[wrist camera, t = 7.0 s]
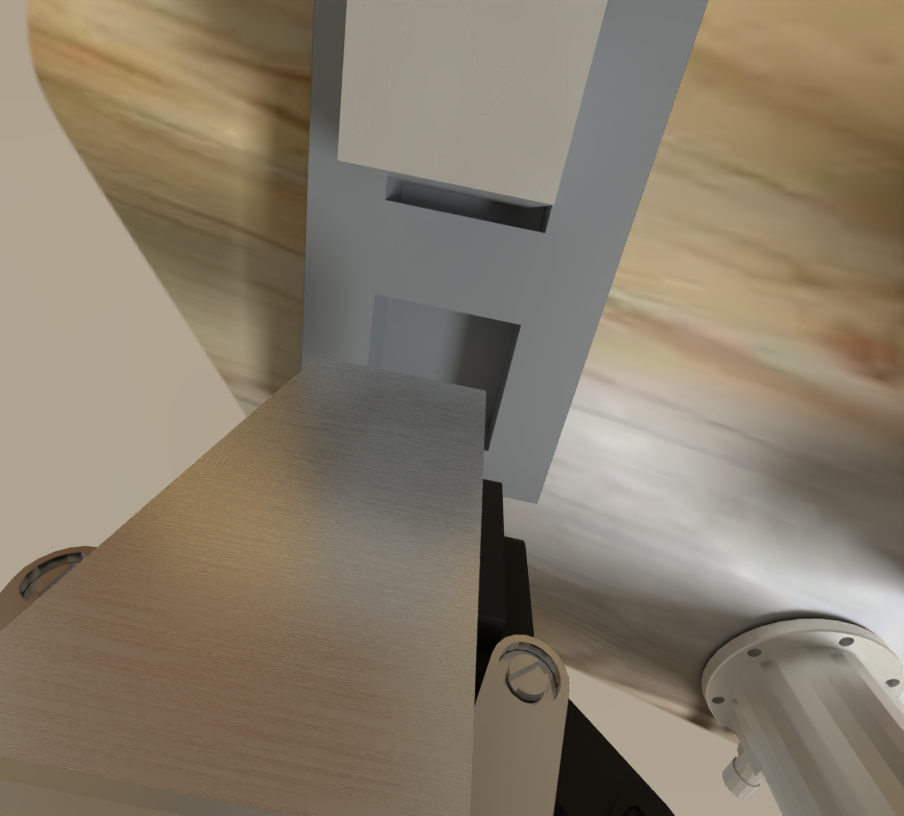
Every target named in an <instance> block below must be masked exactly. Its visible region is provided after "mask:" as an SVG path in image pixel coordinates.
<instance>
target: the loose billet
mask: <svg viewBox="0 0 904 816" xmlns="http://www.w3.org/2000/svg"><path fill="white" fill-rule="evenodd" d="M485 409H486V391H485V390H480V389H475V388H470V387H465V386H461V385H456V384H451V383H446V382H441V381H436V380H431V379H426V378H422V377H417V376H412V375H407V374H402V373H397V372H392V371H388V370H383V369H378V368H373V367H368V366H363V365H358V364H354V363H349V362H344V361H339V360H334V359H329V358H324V357H319V356H317V357H316V358H315V359H314V360H312V361H311V362H310V363H309V364H308V365H307V366H306V367H304V368H303V369H302V370H301V371H300V372H299V373H297V374H296V375H295V376H294V377H293V378H292V379H291V380H289V381H288V382H287V383H286V384H285V385H284V386H283V387H281V388H280V389H279V390H278V391H277V392H276V393H274V394H273V395H272V396H271V397H270V398H269V399H268V400H266V401H265V402H264V403H263V404H262V405H261V406H259V407H258V408H257V409H256V410H255V411H254V412H253V413H251V414H250V415H249V416H248V417H247V418H246V419H245V420H243V421H242V422H241V423H240V424H239V425H238V426H237V427H235V428H234V429H233V430H232V431H231V432H230V433H228V434H227V435H226V436H225V437H224V438H223V439H221V440H220V441H219V442H218V443H217V444H216V445H215V446H213V447H212V448H211V449H210V450H209V451H208V452H207V453H205V454H204V455H203V456H202V457H201V458H200V459H199V460H197V461H196V462H195V463H194V464H193V465H192V466H191V467H189V468H188V469H187V470H186V471H185V472H184V473H182V474H181V475H180V476H179V477H178V478H177V479H175V480H174V481H173V482H172V483H171V484H170V485H169V486H167V487H166V488H165V489H164V490H163V491H162V492H160V493H159V494H158V495H157V496H156V497H155V498H154V499H152V500H151V501H150V502H149V503H148V504H147V505H146V506H144V507H143V508H142V509H141V510H140V511H139V512H138V513H136V514H135V515H134V516H133V517H132V518H131V519H129V520H128V521H127V522H126V523H125V524H124V525H122V526H121V527H120V528H119V529H118V530H117V531H116V532H114V533H113V534H112V535H111V536H110V537H109V538H107V539H106V540H105V541H104V542H103V543H102V544H101V545H99V546H98V547H97V548H96V549H95V550H94V551H93V552H91V553H90V554H89V555H88V556H87V557H86V558H84V559H83V560H82V561H81V562H80V563H79V564H78V565H76V566H75V567H74V568H73V569H72V570H71V571H70V572H68V573H67V574H66V575H65V576H64V577H63V578H61V579H60V580H59V581H58V582H57V583H56V584H55V585H53V586H52V587H51V588H50V589H49V590H48V591H46V592H45V593H44V594H43V595H42V596H41V597H40V598H38V599H37V600H36V601H35V602H34V603H33V604H32V605H30V606H29V607H28V608H27V609H26V610H25V611H23V612H22V613H21V614H20V615H19V616H18V617H17V618H15V619H14V620H13V621H12V622H11V623H10V624H8V625H7V626H6V627H5V628H4V629H3V630H2V631H0V756H1V757H6V758H12V759H17V760H22V761H27V762H32V763H37V764H42V765H47V766H52V767H57V768H62V769H67V770H72V771H77V772H82V773H87V774H92V775H96V776H101V777H106V778H111V779H116V780H121V781H126V782H131V783H135V784H140V785H145V786H150V787H155V788H160V789H165V790H170V791H174V792H179V793H184V794H189V795H194V796H199V797H204V798H209V799H214V800H219V801H224V802H229V803H233V804H238V805H243V806H248V807H253V808H258V809H263V810H268V811H273V812H278V813H283V814H288V815H292V816H470V802H471V776H472V750H473V724H474V698H475V671H476V645H477V619H478V593H479V566H480V540H481V514H482V488H483V461H484V435H485Z"/></svg>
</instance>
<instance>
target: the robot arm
mask: <svg viewBox="0 0 904 816" xmlns="http://www.w3.org/2000/svg"><path fill="white" fill-rule="evenodd" d="M96 548H97V547H90V546H81V547H71V548H67V549H63V550H59V551H55V552H53V553H50V554H48V555H46V556H43V557H41V558H39V559H37V560H35V561H34V562H32V563H31V564H29V565H27V566H26V567H24V568H23V569H22V570H21V571H20V572H19V573H18V574H17V575H16V576H14V578H13V579H12V580H11V581H10V582H9V583H8V584H7V586H6V587H5V588H4V589H3V590H2V591H1V593H0V631H2V630H3V629H4V628H5V627H6V626H7V625H8V624H10V623H11V622H12V621H13V620H14V619H15V618H17V617H18V616H19V615H20V614H21V613H22V612H23V611H25V610H26V609H27V608H28V607H29V606H30V605H32V604H33V603H34V602H35V601H36V600H37V599H38V598H40V597H41V596H42V595H43V594H44V593H45V592H46V591H48V590H49V589H50V588H51V587H52V586H53V585H55V584H56V583H57V582H58V581H59V580H60V579H61V578H63V577H64V576H65V575H66V574H67V573H68V572H70V571H71V570H72V569H73V568H74V567H75V566H76V565H78V564H79V563H80V562H81V561H82V560H83V559H84V558H86V557H87V556H88V555H89V554H90V553H91V552H93V551H94V550H95V549H96ZM903 685H904V670H903V666H902V664H901V662H900V661H899V659H898V657H897V656H896V655H895V654H894V652H893V651H892V650H891V649H890V648H889V647H888V646H887V645H886V644H885V643H884V641H883V640H881V639H880V638H879V637H877V636H876V635H875V634H873V633H872V632H870V631H868V630H866V629H863V628H861V627H859V626H857V625H853V624H849V623H845V622H841V621H836V620H827V619H794V620H787V621H779V622H776V623H772V624H768V625H764V626H760V627H758V628H755V629H753V630H750V631H748V632H745V633H743V634H741V635H739V636H738V637H736V638H734V639H732V640H731V641H729V642H728V643H727V644H725V645H724V646H723V647H721V648H720V649H719V650H718V651H717V652H716V653H715V654H714V655H713V657H712V658H711V659H710V660H709V662H708V663H707V665H706V667H705V669H704V671H703V675H702V680H701V686H702V693H703V695H704V697H705V700H706V703H707V705H708V708H709V709H710V711H711V712H712V714H713V716H714V717H715V718H716V719H717V720H718V721H719V722H720V723H722V724H723V725H724V726H726V727H728V728H729V729H731V730H732V731H734V732H736V734H737V737H738V739H739V741H740V743H739V745H738V749H737V751H738V755H739V756H738V757H735V758H734V759H733V760H732V761H731V762H730V764H729V765H728V766H727V767H726V768H725V769H724V771H723V774H722V777H723V780H724V782H725V785H726V786H727V787H728V789H729V790H730V791H731V792H732V793H733V794H734V795H736V796H737V797H739V798H742V799H745V798H748V797H749V796H750V795H751V794H752V793H753V792H754V791H755V790H756V789H757V788H758V787H759V786H760V783H761V781H762V780H763V781H766V782H767V783H768V785H769V788H770V790H771V792H772V794H773V796H774V798H775V800H776V803H777V804H778V807H779V809H780V811H781V813H782V815H783V816H904V704H903V703H902V701H901V700H900V699H899V696H900V694H901V692H902V690H903ZM0 816H292V815H288V814H283V813H278V812H273V811H268V810H263V809H258V808H253V807H248V806H243V805H238V804H233V803H229V802H224V801H219V800H214V799H209V798H204V797H199V796H194V795H189V794H184V793H179V792H174V791H170V790H165V789H160V788H155V787H150V786H145V785H140V784H135V783H131V782H126V781H121V780H116V779H111V778H106V777H101V776H96V775H92V774H87V773H82V772H77V771H72V770H67V769H62V768H57V767H52V766H47V765H42V764H37V763H32V762H27V761H22V760H17V759H12V758H6V757H1V756H0ZM470 816H675V815H674V814H673V813H672V811H671V810H670V809H669V807H668V806H667V805H666V804H665V803H664V802H663V801H662V800H661V798H659V796H658V795H657V794H656V793H655V792H654V791H653V790H652V789H651V788H650V786H649V785H648V784H647V783H646V782H645V781H644V780H643V779H642V778H641V777H640V776H639V774H638V773H637V772H636V771H635V770H634V769H633V768H632V767H631V766H630V765H629V764H628V762H627V761H626V760H625V759H624V758H623V757H622V756H621V755H620V754H619V753H618V751H617V750H616V749H615V748H614V747H613V746H612V745H611V744H610V743H609V742H608V741H607V740H606V738H605V737H604V736H603V735H602V734H601V733H600V732H599V731H598V730H597V729H596V727H595V726H593V724H592V723H591V722H590V721H589V720H588V719H587V718H586V717H585V716H584V715H583V713H582V712H581V711H580V710H579V709H578V708H577V707H576V706H575V705H574V704H573V702H572V701H571V700H570V699H569V677H568V674H567V671H566V668H565V666H564V664H563V662H562V661H561V659H560V658H559V656H558V655H557V654H556V653H555V652H554V651H553V650H552V649H551V648H550V647H549V646H548V645H547V644H545V643H543V642H542V641H540V640H539V639H537V638H534V631H533V621H532V610H531V599H530V589H529V578H528V567H527V557H526V547H525V542H524V541H523V540H519V539H514V538H510V537H505V536H504V521H503V490H502V483H501V482H496V481H492V480H487V479H483V488H482V514H481V540H480V566H479V593H478V619H477V645H476V671H475V698H474V724H473V750H472V776H471V802H470Z"/></svg>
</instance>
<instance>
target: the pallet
mask: <svg viewBox="0 0 904 816" xmlns="http://www.w3.org/2000/svg"><path fill="white" fill-rule="evenodd" d="M707 3H708V0H608V2H607V6H606V9H605V13H604V17H603V21H602V25H601V28H600V32H599V36H598V40H597V44H596V47H595V51H594V55H593V59H592V63H591V66H590V70H589V74H588V78H587V82H586V86H585V89H584V93H583V97H582V101H581V105H580V108H579V112H578V116H577V120H576V124H575V127H574V131H573V135H572V139H571V143H570V146H569V150H568V154H567V158H566V162H565V166H564V169H563V173H562V177H561V181H560V185H559V188H558V192H557V196H556V200H555V204H554V205H550V206H541V207H533V208H523V207H519V206H514V205H509V204H504V203H499V202H494V201H490V200H485V199H480V198H475V197H470V196H465V195H461V194H456V193H451V192H446V191H441V190H436V189H432V188H427V187H422V186H418V185H415V184H412V183H408V182H405V181H402V180H399V179H396V178H392V177H389V176H386V175H383V174H380V173H377V172H373V171H370V170H367V169H364V168H361V167H357V166H354V165H351V164H348V163H345V162H341V161H338V160H337V158H338V142H339V125H340V109H341V92H342V76H343V59H344V43H345V26H346V10H347V0H314V19H313V47H312V76H311V104H310V133H309V161H308V190H307V218H306V246H305V275H304V303H303V332H302V360H301V370H302V369H303V368H304V367H306V366H307V365H308V364H309V363H310V362H311V361H312V360H314V359H315V358H316V357H317V356H319V357H324V358H329V359H334V360H339V361H344V362H349V363H354V364H358V365H363V366H368V367H373V368H378V369H383V370H388V371H392V372H397V373H402V374H407V375H412V376H417V377H422V378H426V379H431V380H436V381H441V382H446V383H451V384H456V385H461V386H465V387H470V388H475V389H480V390H485V391H486V409H485V435H484V461H483V479H487V480H492V481H496V482H501V483H502V490H503V496H504V497H508V498H513V499H517V500H522V501H527V502H531V503H536V504H537V502H538V499H539V496H540V494H541V491H542V488H543V485H544V482H545V479H546V476H547V473H548V470H549V467H550V464H551V461H552V458H553V455H554V452H555V449H556V447H557V444H558V441H559V438H560V435H561V432H562V429H563V426H564V423H565V420H566V417H567V414H568V411H569V408H570V405H571V402H572V400H573V397H574V394H575V391H576V388H577V385H578V382H579V379H580V376H581V373H582V370H583V367H584V364H585V361H586V358H587V356H588V353H589V350H590V347H591V344H592V341H593V338H594V335H595V332H596V329H597V326H598V323H599V320H600V317H601V314H602V311H603V309H604V306H605V303H606V300H607V297H608V294H609V291H610V288H611V285H612V282H613V279H614V276H615V273H616V270H617V267H618V264H619V262H620V259H621V256H622V253H623V250H624V247H625V244H626V241H627V238H628V235H629V232H630V229H631V226H632V223H633V220H634V217H635V215H636V212H637V209H638V206H639V203H640V200H641V197H642V194H643V191H644V188H645V185H646V182H647V179H648V176H649V173H650V170H651V168H652V165H653V162H654V159H655V156H656V153H657V150H658V147H659V144H660V141H661V138H662V135H663V132H664V129H665V126H666V123H667V121H668V118H669V115H670V112H671V109H672V106H673V103H674V100H675V97H676V94H677V91H678V88H679V85H680V82H681V79H682V76H683V74H684V71H685V68H686V65H687V62H688V59H689V56H690V53H691V50H692V47H693V44H694V41H695V38H696V35H697V32H698V29H699V27H700V24H701V21H702V18H703V15H704V12H705V9H706V6H707Z"/></svg>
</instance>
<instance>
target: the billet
mask: <svg viewBox="0 0 904 816" xmlns="http://www.w3.org/2000/svg"><path fill="white" fill-rule="evenodd" d="M607 2H608V0H347V10H346V26H345V43H344V59H343V76H342V92H341V109H340V125H339V142H338V158H337V160H338V161H341V162H345V163H348V164H351V165H354V166H357V167H361V168H364V169H367V170H370V171H373V172H377V173H380V174H383V175H386V176H389V177H392V178H396V179H399V180H402V181H405V182H408V183H412V184H415V185H418V186H422V187H427V188H432V189H436V190H441V191H446V192H451V193H456V194H461V195H465V196H470V197H475V198H480V199H485V200H490V201H494V202H499V203H504V204H509V205H514V206H519V207H523V208H533V207H541V206H550V205H554V204H555V200H556V196H557V192H558V188H559V185H560V181H561V177H562V173H563V169H564V166H565V162H566V158H567V154H568V150H569V146H570V143H571V139H572V135H573V131H574V127H575V124H576V120H577V116H578V112H579V108H580V105H581V101H582V97H583V93H584V89H585V86H586V82H587V78H588V74H589V70H590V66H591V63H592V59H593V55H594V51H595V47H596V44H597V40H598V36H599V32H600V28H601V25H602V21H603V17H604V13H605V9H606V6H607Z"/></svg>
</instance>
